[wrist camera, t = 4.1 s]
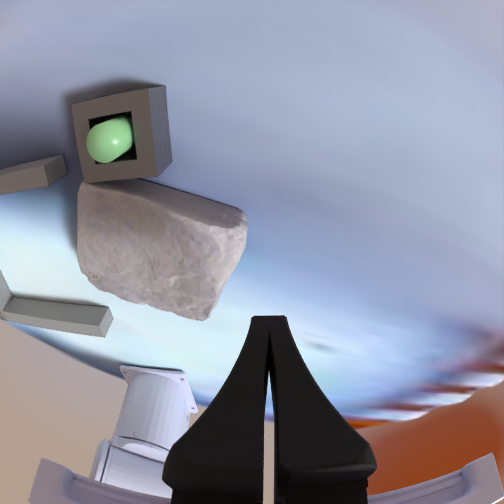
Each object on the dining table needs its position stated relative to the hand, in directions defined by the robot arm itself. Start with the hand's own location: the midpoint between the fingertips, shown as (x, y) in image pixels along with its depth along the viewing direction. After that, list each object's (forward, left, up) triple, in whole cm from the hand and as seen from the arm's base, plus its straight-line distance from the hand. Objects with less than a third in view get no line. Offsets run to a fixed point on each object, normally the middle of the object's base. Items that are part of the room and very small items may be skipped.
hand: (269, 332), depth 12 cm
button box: (+7, +8, -10) cm, 15 cm away
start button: (+7, +9, -10) cm, 15 cm away
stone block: (-2, +8, -10) cm, 13 cm away
